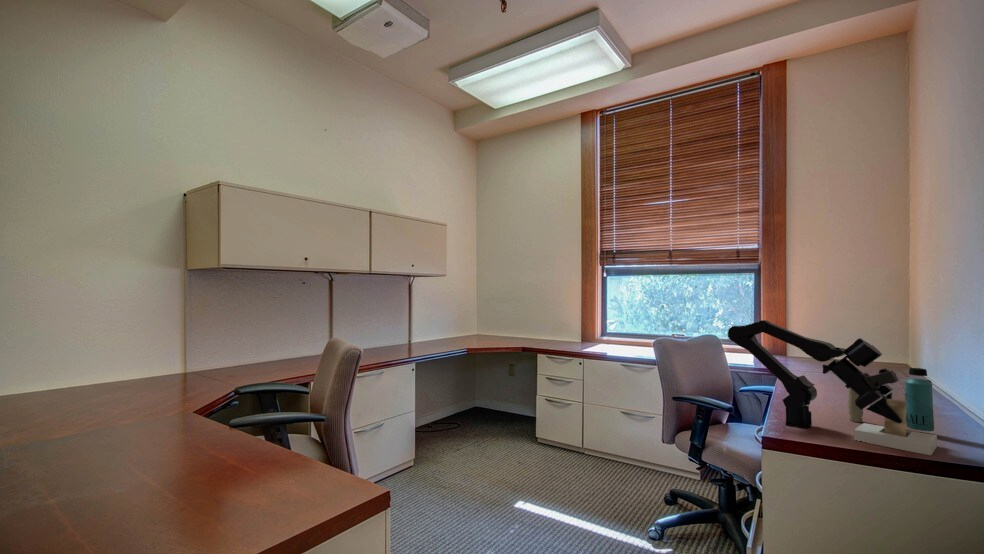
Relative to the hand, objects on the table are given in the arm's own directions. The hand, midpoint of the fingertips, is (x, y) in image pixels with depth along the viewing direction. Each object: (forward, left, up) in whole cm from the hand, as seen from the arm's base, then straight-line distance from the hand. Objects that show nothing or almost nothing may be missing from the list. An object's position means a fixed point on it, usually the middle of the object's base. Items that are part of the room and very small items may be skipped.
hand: (902, 421), depth 126 cm
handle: (-9, +24, -7) cm, 27 cm away
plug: (-2, 0, -7) cm, 7 cm away
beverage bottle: (+6, +18, -7) cm, 21 cm away
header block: (-2, 0, -7) cm, 7 cm away
